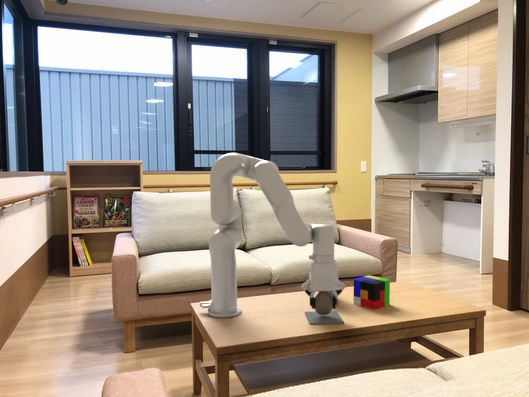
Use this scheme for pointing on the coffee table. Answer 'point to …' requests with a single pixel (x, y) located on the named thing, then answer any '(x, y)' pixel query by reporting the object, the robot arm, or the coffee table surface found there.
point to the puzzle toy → (371, 292)
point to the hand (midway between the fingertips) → (323, 307)
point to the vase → (323, 303)
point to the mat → (323, 318)
